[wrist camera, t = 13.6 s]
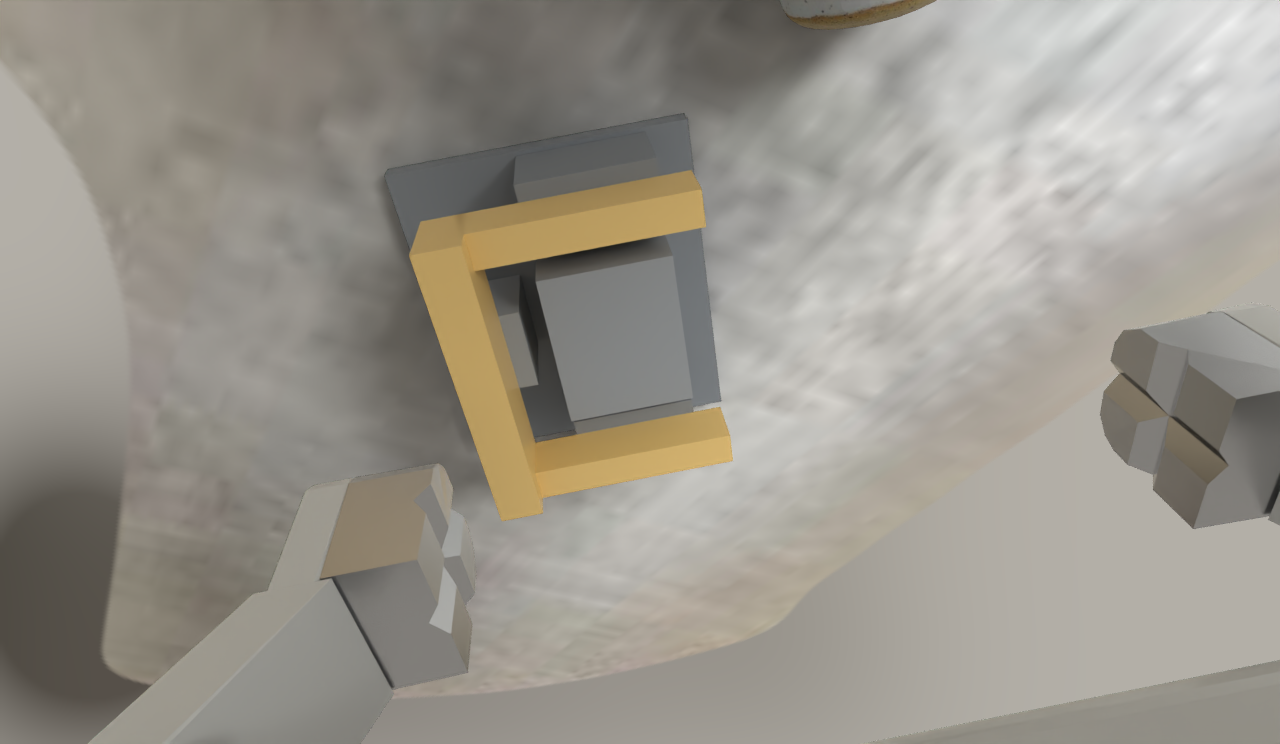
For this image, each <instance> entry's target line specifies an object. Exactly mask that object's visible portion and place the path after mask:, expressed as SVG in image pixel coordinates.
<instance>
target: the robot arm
mask: <svg viewBox="0 0 1280 744" xmlns="http://www.w3.org/2000/svg"><path fill="white" fill-rule="evenodd" d="M1111 362H1112V363H1113V365H1114V366H1115V368H1116V369H1117V370H1118V372H1119V373H1120V374H1119V375H1118V376H1117V377H1116V378H1115V379H1114V380H1113V382H1112V383H1111V384H1110V385H1109V386H1108V387H1107V388H1106V390H1105V391H1104V394H1103V399H1102V406H1101V412H1100V416H1101V420H1102V424H1103V429H1104V433H1105V436H1106V438H1107V439H1108V441H1109V443H1110V445H1111V447H1112V448H1113V450H1114V451H1115V452H1116V453H1117V454H1118V455H1119V456H1120V457H1121V458H1122V459H1123V460H1124V462H1125V463H1127V464H1128V465H1130V466H1132V467H1135V468H1137V469H1140V470H1143V471H1145V472H1148V473H1150V474H1153V490H1154V491H1155V492H1156V493H1157V494H1158V495H1159V496H1160V497H1161V498H1162V499H1163V500H1164V501H1165V502H1166V503H1167V504H1168V505H1169V506H1170V507H1171V508H1172V509H1173V510H1174V511H1175V512H1176V513H1177V514H1178V515H1179V516H1181V517H1182V518H1183V519H1184V520H1185V521H1186V522H1187V523H1188V524H1189V525H1190V526H1191V527H1192V528H1193V529H1196V528H1202V527H1208V526H1214V525H1220V524H1225V523H1232V522H1237V521H1243V520H1249V519H1255V518H1261V517H1266V516H1269V519H1268V520H1270V521H1272V522H1274V523H1276V524H1278V525H1280V311H1278V310H1276V309H1274V308H1273V307H1271V306H1269V305H1264V304H1258V303H1252V302H1251V303H1246V304H1242V305H1237V306H1233V307H1228V308H1224V309H1220V310H1215V311H1210V312H1208V313H1206V314H1203V315H1198V316H1193V317H1188V318H1183V319H1178V320H1173V321H1168V322H1163V323H1158V324H1153V325H1148V326H1143V327H1138V328H1133V329H1128V330H1123V332H1122V333H1121V334H1120V336H1119V337H1118V339H1117V340H1116V341H1115V344H1114V348H1113V352H1112V356H1111ZM452 497H453V486H452V484H451V482H450V479H449V477H448V475H447V472H446V470H445V468H444V467H443V466H442V465H440V464H439V463H434V464H429V465H423V466H417V467H411V468H405V469H400V470H394V471H388V472H382V473H376V474H371V475H365V476H359V477H356V478H349V479H343V480H338V481H333V482H328V483H322V484H317V485H313V486H312V487H311V488H309V489H308V490H307V491H306V492H305V493H304V495H303V498H302V500H301V503H300V505H299V508H298V511H297V513H296V516H295V519H294V521H293V524H292V526H291V529H290V532H289V534H288V537H287V539H286V542H285V545H284V547H283V550H282V552H281V555H280V558H279V560H278V563H277V566H276V568H275V571H274V573H273V576H272V579H271V581H270V584H269V586H268V589H267V591H264V592H259V593H254V594H252V595H251V596H250V597H249V598H248V599H247V600H246V601H245V602H244V603H242V604H241V605H240V606H239V607H238V608H237V609H236V610H235V611H234V612H232V613H231V614H230V615H229V616H228V617H227V618H226V619H225V620H224V621H223V622H221V623H220V624H219V625H218V626H217V627H216V628H215V629H214V630H213V631H211V632H210V633H209V634H208V635H207V636H206V637H205V638H204V639H203V640H202V641H200V642H199V643H198V644H197V645H196V646H195V647H194V648H193V649H192V650H190V651H189V652H188V653H187V654H186V655H185V656H184V657H183V658H182V659H181V660H179V661H178V662H177V663H176V664H175V665H174V666H173V667H172V668H171V669H169V670H168V671H167V672H166V673H165V674H164V675H163V676H162V677H161V678H160V679H158V680H157V681H156V682H155V683H154V684H153V685H152V686H151V687H150V688H149V689H147V690H146V691H145V692H144V693H143V694H142V695H141V696H140V697H139V698H138V699H136V700H135V701H134V702H133V703H132V704H131V705H130V706H129V707H127V708H126V709H125V710H124V711H123V712H122V713H121V714H120V715H119V716H118V717H117V718H115V719H114V720H113V721H112V722H111V723H110V724H109V725H108V726H107V727H105V728H104V729H103V730H102V731H101V732H100V733H99V734H98V735H96V736H95V737H94V738H93V739H92V740H91V741H90V742H89V743H88V744H361V742H362V741H363V740H364V738H365V736H366V735H367V733H368V732H369V730H370V729H371V728H372V726H373V724H374V723H375V721H376V720H377V719H378V717H379V716H380V714H381V713H382V711H383V709H384V708H385V707H386V705H387V703H388V702H389V700H390V699H391V698H392V696H393V695H394V692H393V689H398V688H402V687H406V686H411V685H415V684H420V683H424V682H429V681H433V680H437V679H442V678H446V677H451V676H455V675H459V674H464V673H468V666H469V655H470V644H471V633H472V622H471V619H470V617H469V614H468V612H467V610H466V607H465V605H466V603H467V602H468V601H469V600H470V599H471V597H472V596H473V595H474V594H475V584H476V566H475V555H474V547H473V543H472V539H471V535H470V531H469V528H468V526H467V523H466V520H465V518H464V516H463V515H461V514H460V513H458V512H456V511H455V510H453V509H452V508H451V505H452ZM864 744H1280V660H1277V661H1272V662H1268V663H1263V664H1258V665H1253V666H1248V667H1243V668H1238V669H1233V670H1228V671H1223V672H1218V673H1213V674H1208V675H1203V676H1198V677H1193V678H1188V679H1183V680H1178V681H1173V682H1169V683H1164V684H1159V685H1154V686H1149V687H1144V688H1139V689H1135V690H1129V691H1124V692H1119V693H1114V694H1109V695H1104V696H1099V697H1094V698H1089V699H1084V700H1079V701H1074V702H1069V703H1064V704H1059V705H1054V706H1049V707H1044V708H1039V709H1034V710H1029V711H1024V712H1019V713H1014V714H1009V715H1004V716H999V717H994V718H989V719H984V720H979V721H974V722H969V723H964V724H959V725H954V726H949V727H944V728H939V729H934V730H929V731H924V732H919V733H914V734H909V735H904V736H899V737H893V738H889V739H883V740H878V741H873V742H868V743H864Z"/></svg>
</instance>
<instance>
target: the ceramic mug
mask: <svg viewBox="0 0 1280 744" xmlns="http://www.w3.org/2000/svg"><path fill="white" fill-rule="evenodd" d="M934 1H936V0H780V3H781V6H782V8H783V10H784V12H785V13H786V15H787V17H789V18H790V19H791V20H792V21H793V22H795V23H797V24H799V25H801V26H803V27H807V28H811V29H825V30H831V29H843V28H851V27H858V26H864V25H869V24H873V23H877V22H881V21H886V20H889V19H893V18H896V17H900V16H902V15H905V14H907V13H910V12H913V11H915V10H918V9H920V8H922V7H924V6H926V5H928V4H930V3H933V2H934Z"/></svg>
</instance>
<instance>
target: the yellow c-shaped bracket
mask: <svg viewBox="0 0 1280 744" xmlns="http://www.w3.org/2000/svg"><path fill="white" fill-rule="evenodd" d="M704 227H706V222H705V213H704V205H703V196H702V189H701V187H700V185H699V183H698V181H697V179H696V178H695V176H694V174H693V172H692V170H689V171H683V172H678V173H673V174H668V175H662V176H657V177H652V178H647V179H641V180H636V181H631V182H626V183H620V184H615V185H610V186H605V187H599V188H594V189H589V190H584V191H578V192H573V193H568V194H563V195H557V196H552V197H547V198H542V199H536V200H531V201H526V202H521V203H515V204H510V205H505V206H500V207H494V208H489V209H484V210H479V211H473V212H468V213H463V214H458V215H452V216H447V217H442V218H437V219H431V220H426V221H421V222H420V225H419V228H418V231H417V234H416V237H415V240H414V243H413V246H412V249H411V251H410V254H409V257H410V260H411V263H412V266H413V269H414V272H415V274H416V277H417V280H418V283H419V286H420V289H421V292H422V294H423V297H424V300H425V303H426V306H427V309H428V312H429V314H430V317H431V320H432V323H433V326H434V329H435V332H436V334H437V337H438V340H439V343H440V346H441V349H442V352H443V355H444V357H445V360H446V363H447V366H448V369H449V372H450V375H451V377H452V380H453V383H454V386H455V389H456V392H457V395H458V397H459V400H460V403H461V406H462V409H463V412H464V415H465V417H466V420H467V423H468V426H469V429H470V432H471V435H472V437H473V440H474V443H475V446H476V449H477V452H478V455H479V458H480V460H481V463H482V466H483V469H484V472H485V475H486V478H487V480H488V483H489V486H490V489H491V492H492V495H493V498H494V500H495V503H496V506H497V509H498V512H499V515H500V518H501V520H502V521H506V520H511V519H516V518H522V517H527V516H532V515H537V514H542V513H543V498H545V497H550V496H555V495H560V494H565V493H570V492H576V491H581V490H586V489H591V488H596V487H601V486H606V485H611V484H617V483H622V482H627V481H632V480H637V479H642V478H647V477H653V476H658V475H663V474H668V473H673V472H678V471H683V470H688V469H694V468H699V467H704V466H709V465H714V464H719V463H724V462H729V461H733V457H732V448H731V440H730V434H729V431H728V428H727V425H726V423H725V420H724V417H723V414H722V411H721V408H720V407H717V408H712V409H706V410H701V411H696V412H691V413H686V414H681V415H675V416H670V417H665V418H660V419H655V420H650V421H645V422H639V423H634V424H629V425H624V426H619V427H614V428H608V429H603V430H598V431H593V432H588V433H583V434H578V435H572V436H567V437H562V438H557V439H552V440H547V441H541V442H536V443H535V440H534V436H533V433H532V429H531V426H530V422H529V419H528V416H527V412H526V409H525V405H524V402H523V399H522V395H521V392H520V388H519V385H518V382H517V378H516V375H515V371H514V368H513V365H512V361H511V358H510V354H509V351H508V348H507V344H506V341H505V337H504V334H503V331H502V327H501V324H500V320H499V317H498V313H497V310H496V307H495V303H494V300H493V296H492V293H491V290H490V286H489V283H488V279H487V276H486V273H485V269H489V268H495V267H500V266H505V265H510V264H516V263H521V262H526V261H531V260H536V259H542V258H547V257H552V256H557V255H563V254H568V253H573V252H578V251H583V250H589V249H594V248H599V247H604V246H610V245H615V244H620V243H625V242H630V241H636V240H641V239H646V238H651V237H657V236H662V235H667V234H672V233H677V232H683V231H688V230H693V229H698V228H704Z"/></svg>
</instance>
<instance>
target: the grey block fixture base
mask: <svg viewBox="0 0 1280 744" xmlns="http://www.w3.org/2000/svg"><path fill="white" fill-rule="evenodd" d="M689 170H692V172H693V174H694V168H693V160H692V152H691V143H690V135H689V126H688V119H687V117H686V116H685V114H684V113H683V114H677V115H672V116H667V117H662V118H656V119H651V120H646V121H641V122H635V123H630V124H625V125H619V126H614V127H609V128H604V129H598V130H593V131H588V132H582V133H577V134H572V135H567V136H561V137H556V138H551V139H546V140H540V141H535V142H530V143H524V144H519V145H514V146H509V147H503V148H498V149H493V150H487V151H482V152H477V153H472V154H466V155H461V156H456V157H451V158H445V159H440V160H435V161H429V162H424V163H419V164H414V165H408V166H403V167H398V168H392V169H388V170H387V172H386V174H385V176H384V177H385V180H386V183H387V186H388V189H389V191H390V194H391V197H392V200H393V203H394V206H395V209H396V212H397V215H398V217H399V220H400V223H401V226H402V229H403V232H404V235H405V238H406V240H407V243H408V246H409V249H410V251H411V249H412V246H413V243H414V240H415V237H416V234H417V231H418V228H419V225H420V222H421V221H426V220H431V219H437V218H442V217H447V216H452V215H458V214H463V213H468V212H473V211H479V210H484V209H489V208H494V207H500V206H505V205H510V204H515V203H521V202H526V201H531V200H536V199H542V198H547V197H552V196H557V195H563V194H568V193H573V192H578V191H584V190H589V189H594V188H599V187H605V186H610V185H615V184H620V183H626V182H631V181H636V180H641V179H647V178H652V177H657V176H662V175H668V174H673V173H678V172H683V171H689ZM485 273H486V276H487V279H488V283H489V286H490V290H491V293H492V296H493V300H494V303H495V307H496V310H497V313H498V317H499V320H500V324H501V327H502V331H503V334H504V337H505V341H506V344H507V348H508V351H509V354H510V358H511V361H512V365H513V368H514V371H515V375H516V378H517V382H518V385H519V388H520V392H521V395H522V399H523V402H524V405H525V409H526V412H527V416H528V419H529V422H530V426H531V429H532V433H533V436H534V437H540V436H545V435H550V434H555V433H560V432H565V431H571V430H576V434H577V435H578V434H583V433H588V432H593V431H598V430H603V429H608V428H614V427H619V426H624V425H629V424H634V423H639V422H645V421H650V420H655V419H660V418H665V417H670V416H675V415H681V414H686V413H691V412H693V407H694V406H700V405H705V404H710V403H715V402H720V401H721V396H720V387H719V379H718V370H717V362H716V353H715V345H714V337H713V328H712V320H711V311H710V303H709V295H708V286H707V278H706V269H705V261H704V253H703V244H702V236H701V228H698V229H693V230H688V231H683V232H677V233H672V234H667V235H662V236H657V237H651V238H646V239H641V240H636V241H630V242H625V243H620V244H615V245H610V246H604V247H599V248H594V249H589V250H583V251H578V252H573V253H568V254H563V255H557V256H552V257H547V258H542V259H536V260H531V261H526V262H521V263H516V264H510V265H505V266H500V267H495V268H489V269H485Z"/></svg>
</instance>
